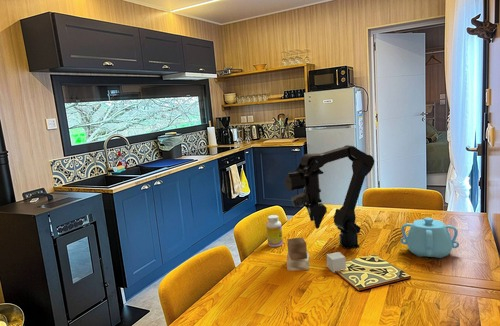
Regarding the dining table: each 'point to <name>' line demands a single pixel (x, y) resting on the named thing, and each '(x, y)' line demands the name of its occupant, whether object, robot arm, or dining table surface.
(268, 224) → the supplement bottle
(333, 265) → the grey cube
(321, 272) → the dining table surface
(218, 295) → the dining table surface
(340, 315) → the dining table surface
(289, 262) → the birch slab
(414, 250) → the decorative pot
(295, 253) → the walnut cube
